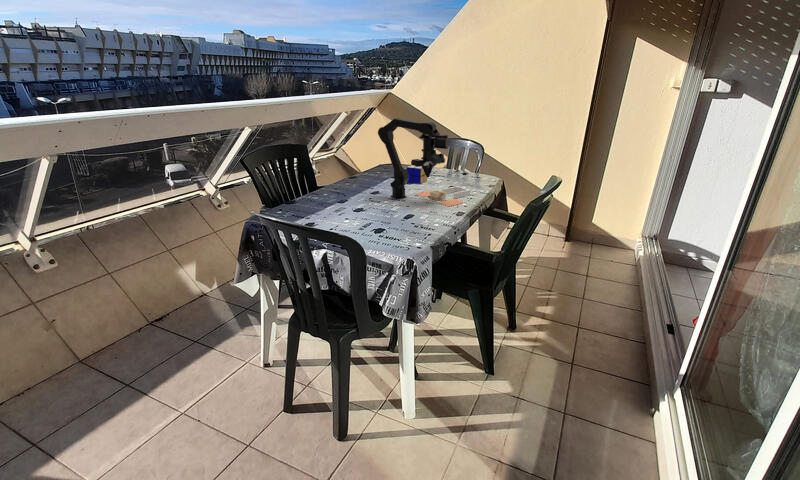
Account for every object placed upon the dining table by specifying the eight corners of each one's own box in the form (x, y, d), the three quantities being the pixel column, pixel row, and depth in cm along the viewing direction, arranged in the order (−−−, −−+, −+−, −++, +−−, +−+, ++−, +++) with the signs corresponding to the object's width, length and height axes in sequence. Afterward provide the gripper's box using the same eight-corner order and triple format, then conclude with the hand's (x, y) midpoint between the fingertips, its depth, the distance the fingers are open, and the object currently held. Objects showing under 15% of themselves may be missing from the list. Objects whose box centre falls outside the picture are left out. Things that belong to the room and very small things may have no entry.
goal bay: (454, 198, 218) (454, 193, 217) (441, 194, 227) (441, 189, 226) (469, 195, 225) (470, 190, 224) (456, 191, 233) (456, 186, 232)
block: (436, 201, 215) (437, 194, 213) (430, 198, 219) (430, 191, 218) (445, 199, 218) (445, 192, 216) (438, 196, 222) (438, 190, 221)
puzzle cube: (406, 182, 252) (406, 167, 248) (413, 179, 260) (413, 164, 256) (420, 184, 248) (420, 168, 244) (427, 181, 256) (427, 165, 252)
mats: (448, 206, 205) (448, 206, 205) (414, 194, 227) (414, 193, 227) (465, 202, 211) (465, 202, 211) (430, 190, 233) (430, 190, 233)
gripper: (424, 151, 192) (423, 182, 198) (452, 148, 203) (451, 177, 208) (410, 148, 201) (410, 178, 207) (438, 145, 211) (437, 174, 217)
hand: (427, 177), depth 210 cm, fingers closed
